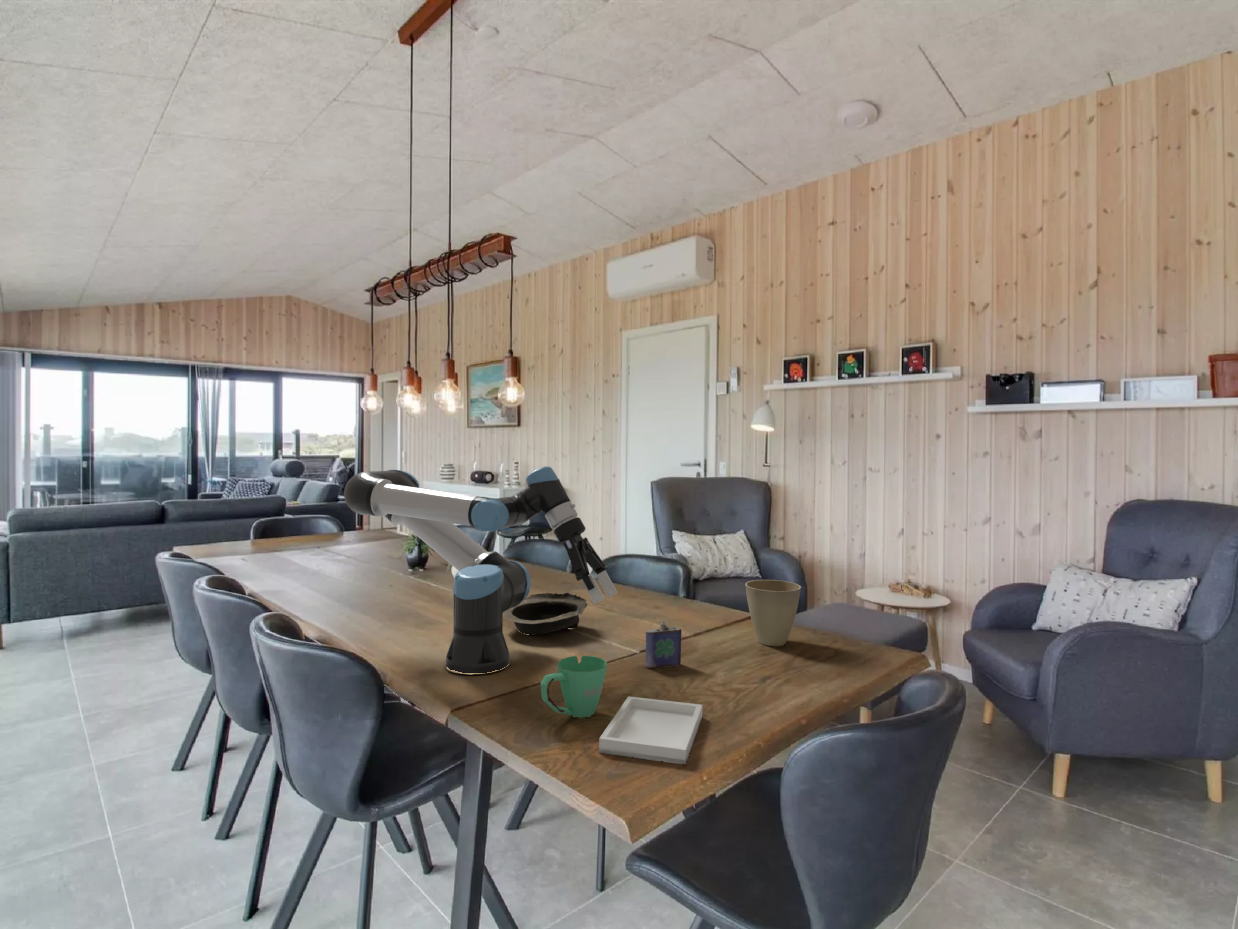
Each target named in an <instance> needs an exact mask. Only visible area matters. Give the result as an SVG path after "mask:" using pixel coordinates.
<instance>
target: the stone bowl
mask: <svg viewBox="0 0 1238 929" xmlns="http://www.w3.org/2000/svg"><path fill="white" fill-rule="evenodd" d="M588 605H589V604H588V603H587V599H585V598H583V597H581V596H578V595H577V594H570V593H569V592H565V593H557V592H556V593H549V592H546V593H544V592H543V593H536V594H531V595H530V596H529V597H526V598H525V599H524V600H523V601H522V602H521V603H520V604H519V605H517V606H515V607H512V608H510V609H508V610H506V611H504V612H503V618H505V619H506V620H507V621H510V622H513V624H514V626H515V627H516V629H517V630H519V631H520V632H522V633H525V634H529V635H532V636H533V635H534V636H538V635H544V634H548V633H552V632H556V631H561V630H564V629H567V628H576V629H577V628H578V627H579V623H580V616H579V615H581V614H583V612H584V611H585V608H586V607H587V606H588ZM519 631H518V632H519ZM520 632H519V633H520ZM522 633H521V634H522Z"/></svg>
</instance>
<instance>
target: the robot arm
mask: <svg viewBox="0 0 1238 929" xmlns="http://www.w3.org/2000/svg"><path fill="white" fill-rule="evenodd" d="M525 480H526V484H527V486H526V487H525V488H523V489H521V490H520V491H519V492H517V493H515V494H514V495H512V496H506V497H505V496H504V497H499V498H497V497H496V498H495V497H486V496H480V495H479V496H478V495H473V494H472V495H471V494H466V493H465V494H464V493H458V492H450V491H444V490H436V489H427V488H422V487H420V483H419V481H418V480H417V478H416V477H415V476H414V475H413V474H411V473H409V472H408V471H403V470H401V469H400V470H399V469H388V470H365V471H362V472H359V473H356V474H354V475H353V476H351V478H349V480H348V481H347V483H346V484H345V487H344V491H343V497H344V501H345V503H346V505H347V507H348V508H349V509H350V510H351V511H352V512H353V513H356V514H358V515H361V516H375V517H378V518H379V517H381V518H382V517H384V518H386V519H387V520H388V521H389V522H391V523H392V524H393V525H394V526H399V525H403V526H404V527H406V528H407V529H408V530H409V531H410V532H412V533H413V535H415V536H416V537H417V538H418V539H420V540H421V541H422V542H424V544H426V545H427V546H428V547H429V548H431V549H432V550H433V551H435V553H437V554H438V555H439V556H440V557H441V558H442V559H443V560H445V561H446V562H447V563H448V564H450V565H451V566H452V567H453V568H454V569H456V570H457V572H456V573H455V575H454V579H453V585H452V586H453V587H452V592H453V635H452V639H451V641H450V644H449V647H448V650H447V653H446V656H445V668H446V667H448V668H449V669H450V670H455V671H458V672H462V673H487V672H492V671H495V670H500V669H502V668H504V667H506V666H507V665H508V664H509V662H510V658H511V656H510V651H509V649H508V644H507V643H506V639H505V636H504V633H503V628H504V627H503V624H504V623H503V620H504V616H503V612H504V611H506V610H508V609H510V608H512V607H515V606H517V605H519V604H520V603H521V602H522V601H525V599H526V598H528V596H529V593H530V591H531V588H532V586H531V585H532V583H531V576H530V572H529V571H528V569H527V567H525V565H524V564H522V563H521V562H519V561H515V560H508V559H507V558H505V557H504V556H503V555H501V554H500V553H499V552H498V551H495V550H494V551H487V549H485V548H484V547H482V546H481V545H480V544H479V543H478V542H477V541H475V540H474V539H473V538H471V537H470V536H469V535H468V534H466V533H465V532H464V531H462V529H461V528H459V527H458V526H457V525H461V526H468V527H474V528H476V529H478V530H479V531H481V532H484V533H485V532H490V533H491V532H493V533H494V532H497V531H499V530H502V531H504V532H507V533H509V532H512V531H514V530H515V529H517V528H520V527H521V526H522V525H523V524H525V523H526V522H528V521H529V520H531V519H533V518H534V517H535V516H537V515H539V514H541V513H543V515H544V517H545V519H546V521H547V523H548V524H549V527H550V528H551V529H552V530H553V533H554V535H555V538H556V540H557V541H558V543H559V544H563V547H564V548H565V550H566V553H567V556H568V558H569V561H570V564H571V566H572V569H573V572H574V575H575V578H576V581H577V582H579V581H581V582H582V584H583V585H584V588H585V589H586V592H587V593H588V595H589V597H590V599H591V601H592V602H593V604H594V605H596V604H597V603H599V602H601V601H603V600H605V599H606V598H605V596H604V594H603V593H602V591H601V589H600V587H599V585H598V583H597V582H596V580H595V577H594V576H593V574H592V573H591V574H590V569H589V567H590V568H591V569H592V570H593V572H594V573H595V574H596V575H595V576H596V578H597V581H598V582H599V584H600V586H601V587H602V589H603V591H604V593H605V595H606V596H607V598H611V597H612V596H614V595H616V594H617V593H618V591H617V589H616V587H615V585H614V584H613V581H612V579H611V578H610V576H609V574H608V572H607V571H606V570H608V568H609V567H608V565H606V564H605V563H604V562H603V560H602V559H601V558H600V556H599V554H598V553H597V551H596V550H595V549H594V547H593V546H592V544H591V543H590V541H589V539H588V538H587V537H582V534H583V533H584V532H585V531H586V526H585V525H584V523H583V521H582V519H581V518H580V517H578V513H577V512H578V511H577V510H576V504H575V503H572V501H571V499H570V497H569V496H568V494H567V492H566V490H565V488H564V486H563V484H562V482H561V480H560V478H559V477H558V476H557V474H556V472H555V471H554V469H553V468H552V467H551V466H547V465H546V466H542V467H539V468H537V469H535V470H534V471H532V472H530V474H527V476H526V477H525ZM588 565H589V566H588ZM510 663H511V662H510ZM509 665H510V664H509Z"/></svg>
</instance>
